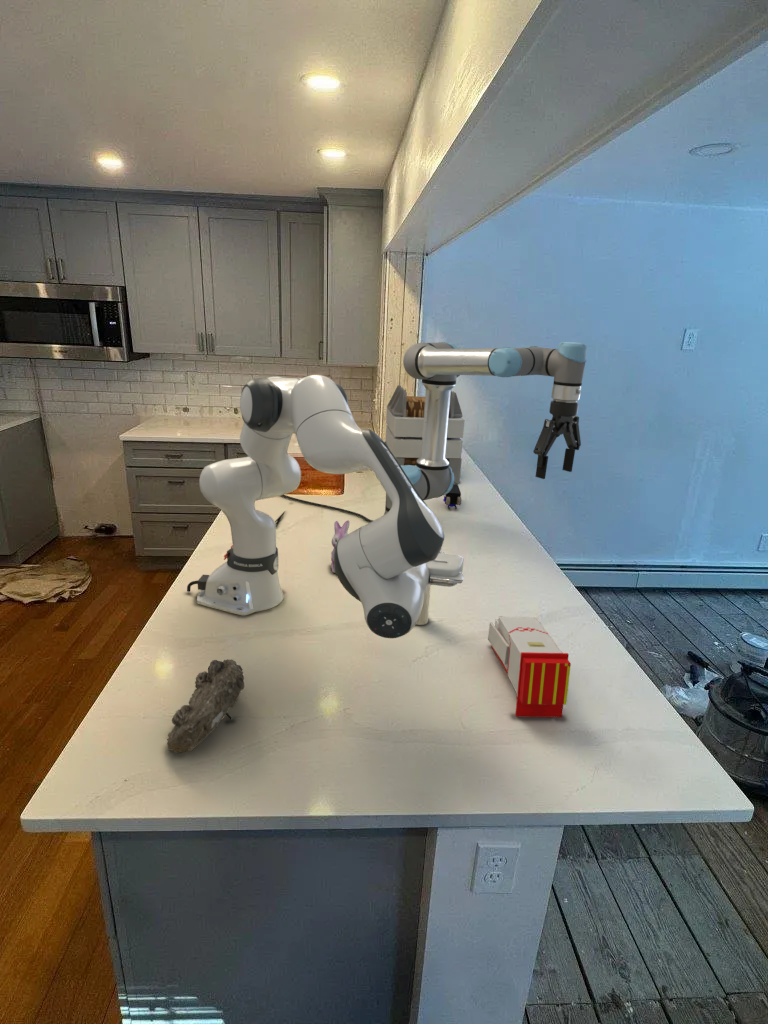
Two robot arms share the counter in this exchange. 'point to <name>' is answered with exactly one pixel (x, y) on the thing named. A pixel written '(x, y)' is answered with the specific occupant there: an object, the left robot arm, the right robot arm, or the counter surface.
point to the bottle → (425, 608)
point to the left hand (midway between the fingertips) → (414, 548)
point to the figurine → (339, 533)
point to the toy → (531, 665)
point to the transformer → (420, 430)
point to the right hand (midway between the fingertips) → (553, 474)
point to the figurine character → (453, 497)
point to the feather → (279, 519)
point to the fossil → (206, 705)
